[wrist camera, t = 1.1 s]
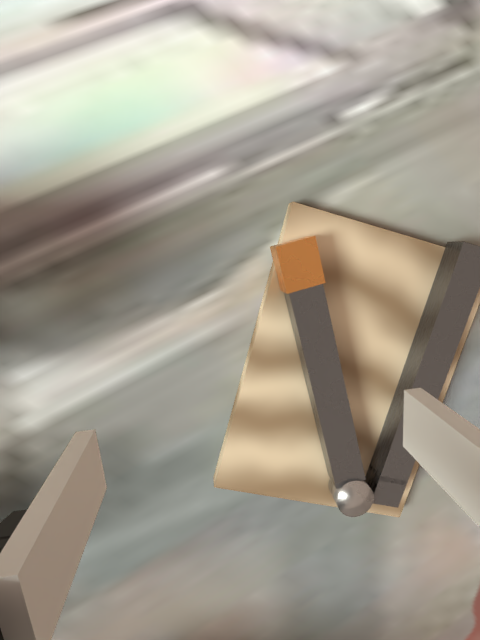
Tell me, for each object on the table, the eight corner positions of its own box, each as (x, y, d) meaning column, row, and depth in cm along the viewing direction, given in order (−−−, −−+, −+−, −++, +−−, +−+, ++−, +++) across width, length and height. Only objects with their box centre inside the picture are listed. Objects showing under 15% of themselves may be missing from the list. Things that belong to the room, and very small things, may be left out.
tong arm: (364, 492, 39) (376, 510, 36) (331, 502, 38) (341, 521, 36) (307, 236, 33) (317, 235, 30) (268, 246, 33) (275, 247, 30)
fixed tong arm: (387, 493, 39) (398, 507, 37) (361, 488, 39) (370, 503, 37) (475, 250, 35) (493, 250, 33) (447, 241, 35) (463, 241, 32)
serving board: (392, 507, 42) (399, 517, 40) (213, 477, 38) (214, 487, 37) (483, 261, 37) (495, 262, 36) (288, 203, 34) (293, 201, 32)
